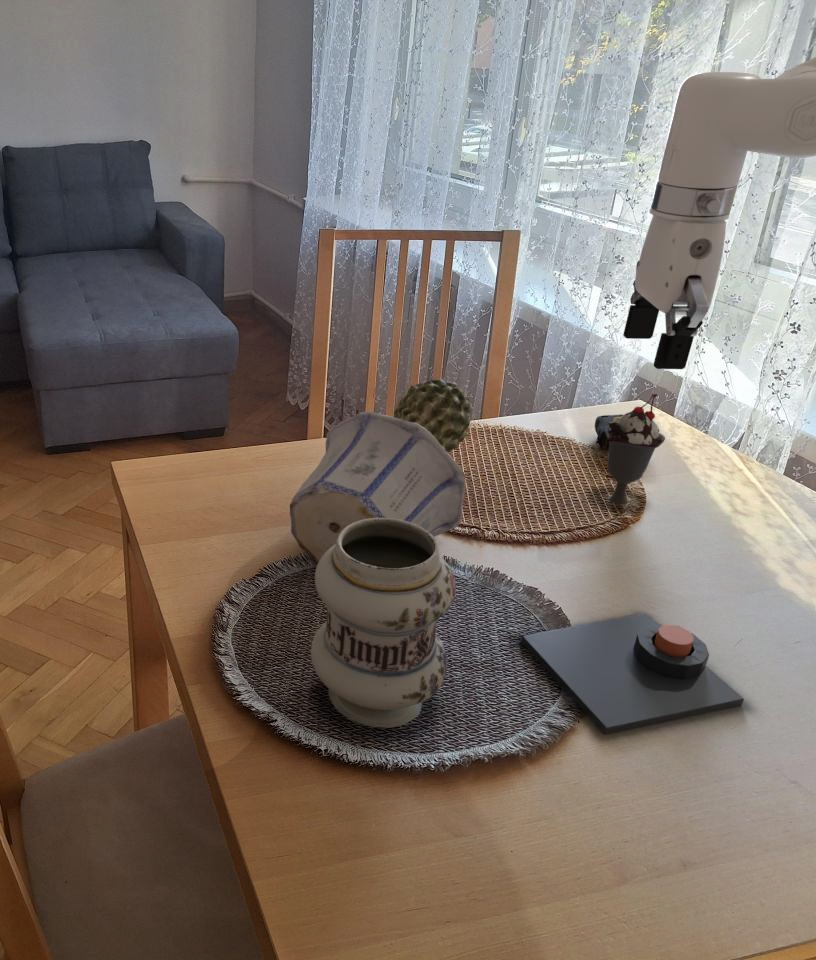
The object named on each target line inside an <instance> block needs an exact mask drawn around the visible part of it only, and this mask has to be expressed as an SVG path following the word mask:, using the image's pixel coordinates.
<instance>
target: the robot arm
mask: <svg viewBox="0 0 816 960" xmlns="http://www.w3.org/2000/svg"><path fill="white" fill-rule="evenodd" d="M673 107H674V108H673V112H672V116H671V120H670V124H669V129H668V133H667V137H666V142H665V145H664V150H663V154H662V158H661V162H660V167H659V171H658V175H657V179H656V183H655V187H654V191H653V195H652V200H651V204H650V208H649V214H650V215H652V217H651V221H650V223H649V226H648V229H647V232H646V235H645V238H644V242H643V245H642V249H641V253H640V256H639V260H638V261H637V262H636V267H635V279H634V280H633V283H632V286H633V293H632V294H631V296H630V305H629V309H628V314H627V318H626V321H625V326H624V330H623V334H622V335H623V337H624V338H626V339H628V340H629V339H630V340H631V339H632V340H633V339H634V340H635V339H637V340H639V339H640V340H641V339H642V340H646V339H647V340H648V339H649V340H650V339H652V338H653V336H654V332H655V328H656V326H657V325H656V324H657V322H658V316H659V313H660V312H661V313H663V314H664V319H665V332H661V333H660V338H659V341H658V346H657V348H656V349H657V350H656V353H655V357H654V360H653V367H654V368H655V369H657V370H684V369H685V368H686V366H687V362H688V359H689V356H690V352H691V349H692V345H693V342H694V339H695V337H696V336H698V332H699V329H700V328H701V327H702V325H703V323H704V321H703V320H704V318H705V317H706V315H707V314H708V312H709V310H710V308H711V305H712V301H713V298H714V293H715V290H716V285H717V281H718V277H719V272H720V268H721V264H722V258H723V255H724V254H723V253H724V248H725V239H726V231H727V230H726V229H727V221H726V220H728V219H729V218H730V215H731V211H732V207H733V203H734V199H735V197H736V193H737V189H738V185H739V182H740V178H741V175H742V172H743V168H744V165H745V161H746V158H747V154H748V152H752V153H757V154H764V155H769V156H774V157H781V158H789V159H806V158H807V159H808V158H812V157H815V156H816V56H814V57H813V58H811V59H808V60H806V61H804V62H802V63H799V64H798V65H795V66H793V67H792V68H789V69H788V70H786V71H784V72H782V73H780V74H779V75H778V76H776V77H775V78H761V76H759V75H757V74H754V73H748V72H740V71H739V72H738V71H737V72H736V71H735V72H734V71H709V72H708V71H707V72H699V73H695V74H691V75H690V76H688V77H686V78H685V79H684V80H683V82H682V83H681V84H680V87H679V88H678V93H677V95H676V99H675V103H674V106H673ZM676 316H682V317H681V318H680V319H678V321H677V319H676Z"/></svg>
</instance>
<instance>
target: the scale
mask: <svg viewBox="0 0 816 960" xmlns="http://www.w3.org/2000/svg"><path fill="white" fill-rule="evenodd" d="M663 625H664V624H658V623H657V621H655V620H654V619H653V618H652V617H650V616H649V615H648V614H647V613H646V612H641V613H636V614H631V615H625V616H619V617H614V618H609V619H605V620H599V621H594V622H593V621H592V622H587V623H583V624H577V625H572V626H566V627H562V628H556V629H550V630H545V631H540V632H534V633H530V634H524V635H522V636H521V639H520V643H521V644H522V645H523V646H524V647H525V648H526V650H527V651H528V652H529V653H530V654H531V655H532V656H533V657H534V658H535V659H536V661H538V662H539V664H540V665H541V666H542V667H543V668H544V669H545V670H546V671H547V673H548V674H549V675H550V676H551V677H552V679H554V681H555V682H556V683H557V684H558V685H559V686H560V687H561V688H562V689H563V690H564V691H565V693H566V694H567V695H568V696H569V697H570V699H572V700H573V702H574V703H575V704H576V705H577V706H578V707H579V708H580V709H581V710H582V711H583V713H585V715H586V716H587V717H588V718H589V719H590V720H591V721H592V723H593V724H594V725H595V726H596V727H597V728H598V729H599V730H600V732H601V733H602V734H604V735H606V736H607V735H611V734H615V733H619V732H620V733H621V732H624V731H625V732H626V731H629V730H634V729H638V728H643V727H648V726H654V725H657V724H661V723H668V722H671V721H676V720H680V719H681V720H682V719H685V718H689V717H695V716H699V715H705V714H709V713H713V712H718V711H723V710H727V709H731V708H732V709H733V708H737V707H741V706H742V705H743V703H744V701H745V699H744V697H743V696H742V695H740V694H739V693H738V692H737V691H736V690H734V689H733V687H731V686H730V685H729V684H728V683H726V682H725V681H724V680H723V679H722V678H721V677H719V676H718V675H717V674H716V673H715V672H714V671H713V670H711V668H709V667H708V666H707V663H708V660H709V657H710V653H709V650H708V647H707V645H706V643H705V642H703V641H702V640H701V639H700V638H699V637H698V636H696V635H695V634H694V633H692V632H690V633H691V634H692V635H693V637H694V641H693V644H692V647H691V650H690V653H689V654H688V655H687V656H685V657H676V656H671V655H668V654H666V653H664V652H662V651H660V650H658V649H657V648H656V646H655V643H654V642H655V638H656V635H657V632H658V629H659V627H661V626H663Z"/></svg>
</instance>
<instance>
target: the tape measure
mask: <svg viewBox="0 0 816 960" xmlns="http://www.w3.org/2000/svg"><path fill="white" fill-rule="evenodd" d="M623 415H624V414H607V415H606V414H605V415H598V416H597V417H596V418H595V420H594V431H595V434H596V435H597V436H596V442H595V443H596V444H597V445H598V447H599V448H600V449H602V450H609V439H608V438H607V436H606V434H605V428H606V427H607V426H609V422H618V421H619V419H620V418H621V417H622V416H623Z"/></svg>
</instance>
